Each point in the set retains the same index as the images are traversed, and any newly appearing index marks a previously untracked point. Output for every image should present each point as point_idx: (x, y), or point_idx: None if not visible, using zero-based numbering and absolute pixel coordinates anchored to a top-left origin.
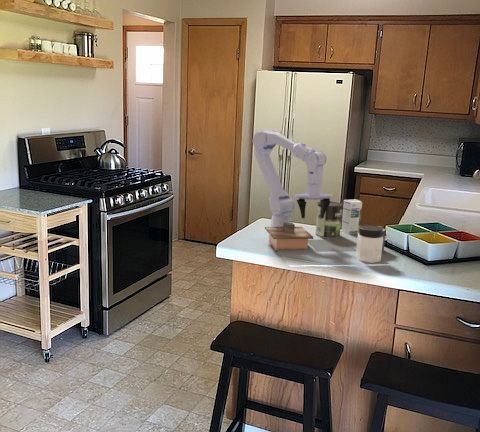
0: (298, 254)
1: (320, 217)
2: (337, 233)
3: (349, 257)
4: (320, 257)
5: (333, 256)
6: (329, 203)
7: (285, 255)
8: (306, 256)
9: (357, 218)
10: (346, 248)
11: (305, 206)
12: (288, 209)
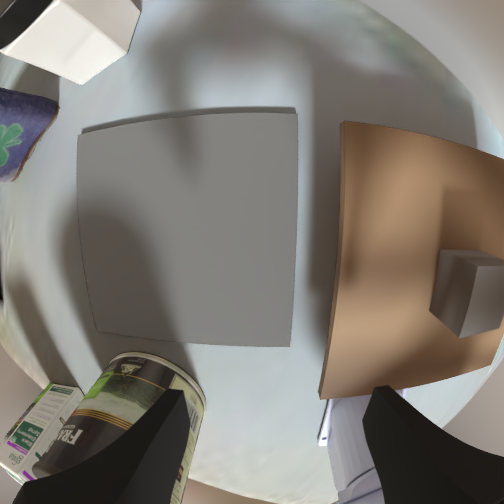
0: (399, 111)
1: None
2: (107, 370)
3: (149, 58)
4: (301, 51)
5: (223, 63)
6: (31, 483)
7: (450, 113)
8: (368, 75)
9: (28, 419)
10: (110, 175)
11: (445, 470)
12: (382, 500)
